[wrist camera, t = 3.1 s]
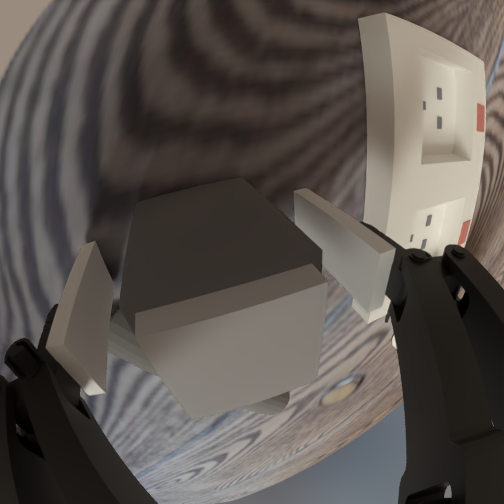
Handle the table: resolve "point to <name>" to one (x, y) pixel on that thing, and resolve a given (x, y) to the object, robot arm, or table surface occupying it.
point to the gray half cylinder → (130, 351)
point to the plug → (223, 296)
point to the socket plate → (420, 136)
